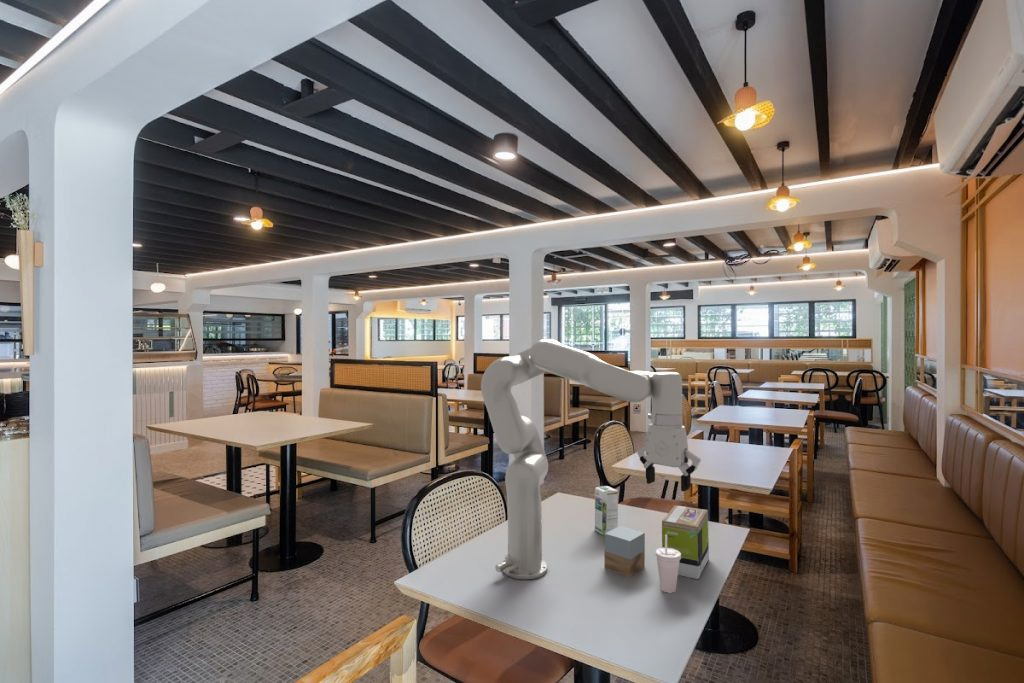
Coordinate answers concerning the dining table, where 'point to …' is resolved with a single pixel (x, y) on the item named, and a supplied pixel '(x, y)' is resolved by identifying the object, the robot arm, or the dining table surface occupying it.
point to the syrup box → (606, 509)
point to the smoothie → (668, 567)
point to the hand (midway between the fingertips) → (667, 486)
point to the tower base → (625, 563)
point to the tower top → (624, 542)
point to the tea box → (688, 538)
